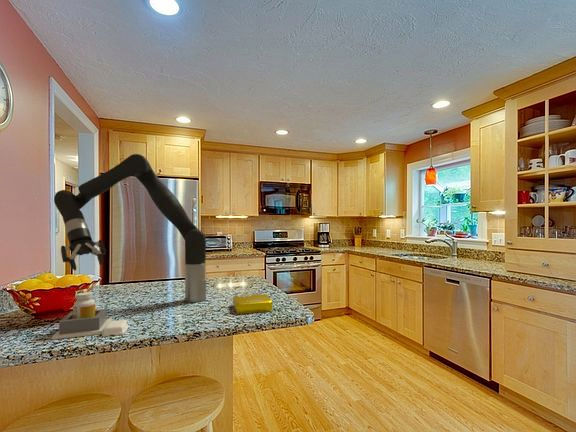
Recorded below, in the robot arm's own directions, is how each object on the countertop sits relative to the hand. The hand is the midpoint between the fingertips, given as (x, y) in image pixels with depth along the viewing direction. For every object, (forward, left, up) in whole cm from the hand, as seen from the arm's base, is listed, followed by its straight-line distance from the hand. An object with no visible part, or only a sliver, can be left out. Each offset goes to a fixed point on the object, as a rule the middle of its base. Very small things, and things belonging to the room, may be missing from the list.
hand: (88, 266), depth 115 cm
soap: (-13, +19, -21) cm, 30 cm away
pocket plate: (-2, +13, -20) cm, 24 cm away
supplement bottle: (-2, +13, -19) cm, 23 cm away
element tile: (-62, +8, -21) cm, 66 cm away
